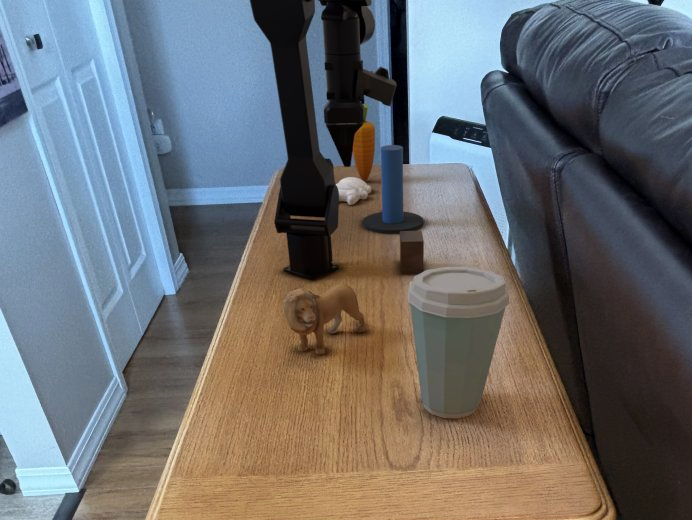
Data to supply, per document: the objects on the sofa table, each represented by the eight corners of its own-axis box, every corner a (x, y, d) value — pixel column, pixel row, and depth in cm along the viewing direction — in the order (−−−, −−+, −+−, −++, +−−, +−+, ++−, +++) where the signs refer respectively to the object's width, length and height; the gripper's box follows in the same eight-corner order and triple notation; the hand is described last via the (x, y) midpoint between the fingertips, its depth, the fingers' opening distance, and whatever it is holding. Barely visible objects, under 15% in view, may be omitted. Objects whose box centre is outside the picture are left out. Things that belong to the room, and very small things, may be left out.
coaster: (398, 237, 128) (398, 234, 128) (350, 225, 134) (350, 222, 133) (435, 221, 135) (435, 218, 135) (388, 210, 140) (388, 207, 140)
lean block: (401, 274, 115) (400, 241, 112) (400, 262, 119) (399, 231, 116) (423, 273, 115) (423, 241, 112) (421, 262, 119) (421, 230, 116)
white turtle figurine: (317, 203, 145) (315, 186, 143) (339, 186, 153) (338, 170, 151) (358, 206, 142) (358, 189, 141) (379, 189, 151) (378, 173, 149)
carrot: (375, 185, 154) (373, 103, 144) (352, 185, 154) (348, 103, 144) (376, 178, 158) (374, 98, 148) (353, 179, 158) (349, 98, 148)
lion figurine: (313, 370, 91) (306, 299, 85) (278, 360, 93) (269, 291, 87) (374, 325, 101) (372, 259, 95) (342, 317, 103) (337, 252, 97)
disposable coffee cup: (397, 388, 87) (395, 261, 78) (483, 377, 89) (492, 252, 80) (419, 435, 79) (420, 300, 70) (514, 422, 81) (527, 289, 72)
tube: (347, 189, 129) (391, 138, 124) (348, 183, 131) (391, 133, 127) (393, 234, 134) (437, 187, 129) (392, 227, 137) (435, 181, 132)
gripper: (394, 60, 110) (396, 173, 120) (391, 44, 125) (393, 146, 135) (320, 61, 110) (327, 174, 120) (325, 45, 124) (332, 147, 134)
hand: (348, 159), depth 127 cm, fingers open, 9 cm apart
